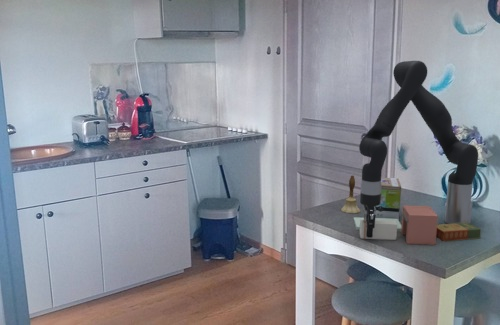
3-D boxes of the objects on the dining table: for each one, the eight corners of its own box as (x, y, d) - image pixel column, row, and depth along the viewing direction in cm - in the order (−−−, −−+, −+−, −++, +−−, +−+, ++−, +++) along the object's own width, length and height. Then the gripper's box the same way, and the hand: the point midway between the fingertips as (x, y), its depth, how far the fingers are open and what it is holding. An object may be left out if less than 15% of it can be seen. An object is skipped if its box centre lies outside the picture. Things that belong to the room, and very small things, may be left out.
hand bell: (343, 207, 229) (344, 172, 226) (361, 209, 226) (363, 174, 223) (339, 212, 222) (340, 177, 218) (358, 214, 219) (360, 178, 215)
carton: (430, 234, 195) (431, 224, 194) (466, 231, 199) (467, 221, 198) (443, 242, 187) (443, 231, 187) (480, 239, 191) (481, 228, 190)
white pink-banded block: (394, 235, 193) (395, 220, 192) (396, 239, 189) (397, 224, 188) (359, 234, 195) (360, 219, 193) (361, 238, 190) (361, 223, 189)
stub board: (397, 221, 209) (397, 218, 209) (403, 231, 198) (403, 228, 197) (353, 220, 211) (353, 217, 211) (356, 229, 199) (356, 227, 199)
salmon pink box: (427, 233, 196) (429, 206, 194) (435, 244, 184) (437, 216, 182) (400, 232, 197) (402, 205, 195) (406, 243, 185) (408, 215, 183)
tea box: (399, 220, 211) (401, 186, 208) (374, 218, 213) (376, 184, 210) (396, 209, 226) (398, 177, 222) (373, 208, 228) (375, 176, 224)
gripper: (384, 197, 181) (381, 242, 185) (378, 186, 195) (375, 228, 199) (362, 196, 182) (360, 241, 185) (358, 186, 196) (356, 228, 199)
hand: (368, 234), depth 192 cm, fingers closed on white pink-banded block, 4 cm apart
